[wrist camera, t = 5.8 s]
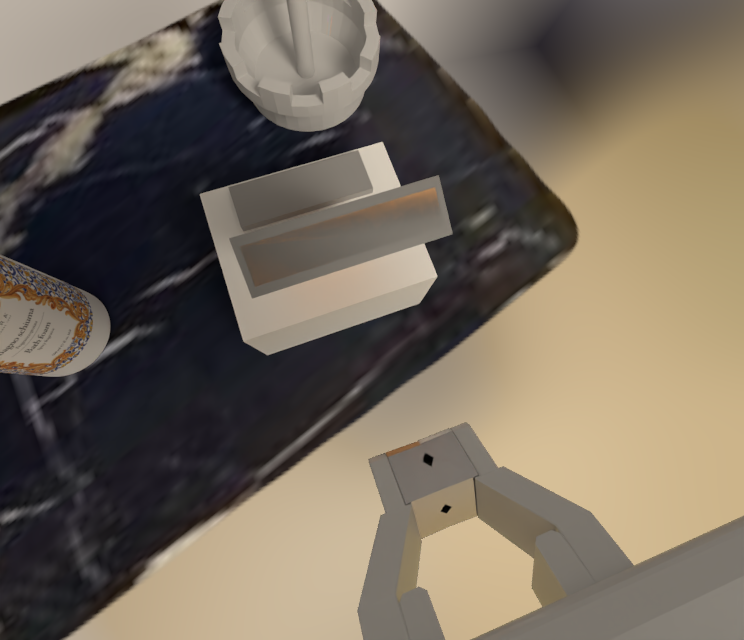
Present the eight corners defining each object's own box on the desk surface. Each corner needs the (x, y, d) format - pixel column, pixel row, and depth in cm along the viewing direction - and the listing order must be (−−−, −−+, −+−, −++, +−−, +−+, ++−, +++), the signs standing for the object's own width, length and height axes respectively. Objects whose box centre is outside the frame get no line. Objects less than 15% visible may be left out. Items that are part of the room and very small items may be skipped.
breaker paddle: (370, 237, 26) (452, 234, 12) (276, 266, 25) (252, 298, 11) (362, 209, 25) (438, 175, 12) (266, 239, 24) (229, 238, 11)
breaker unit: (419, 303, 32) (439, 273, 25) (267, 355, 31) (240, 339, 23) (376, 194, 34) (383, 136, 27) (231, 238, 33) (195, 189, 25)
